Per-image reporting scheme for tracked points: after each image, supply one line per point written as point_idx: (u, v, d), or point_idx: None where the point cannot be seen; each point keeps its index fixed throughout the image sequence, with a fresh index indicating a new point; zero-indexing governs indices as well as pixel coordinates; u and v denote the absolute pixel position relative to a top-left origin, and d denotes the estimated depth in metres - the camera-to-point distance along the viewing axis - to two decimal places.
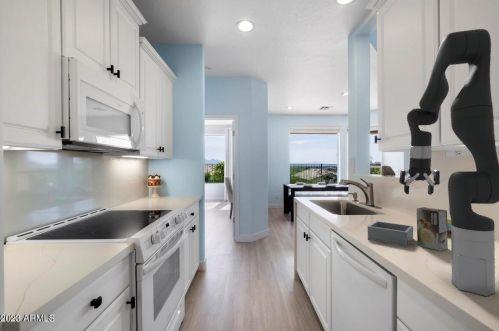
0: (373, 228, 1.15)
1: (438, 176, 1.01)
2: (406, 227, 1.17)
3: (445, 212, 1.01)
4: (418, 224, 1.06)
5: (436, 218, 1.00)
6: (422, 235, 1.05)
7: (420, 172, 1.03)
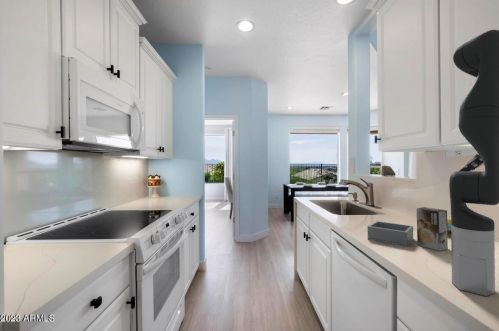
0: (373, 228, 1.15)
1: (475, 158, 0.87)
2: (406, 227, 1.17)
3: (445, 212, 1.01)
4: (418, 224, 1.06)
5: (436, 218, 1.00)
6: (422, 235, 1.05)
7: (479, 155, 0.91)
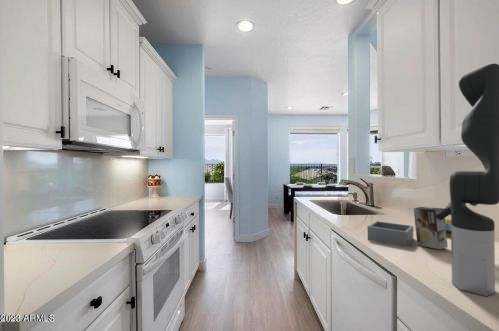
0: (373, 228, 1.15)
1: None
2: (406, 227, 1.17)
3: (442, 210, 1.02)
4: (416, 224, 1.07)
5: (433, 217, 1.01)
6: (421, 234, 1.05)
7: None
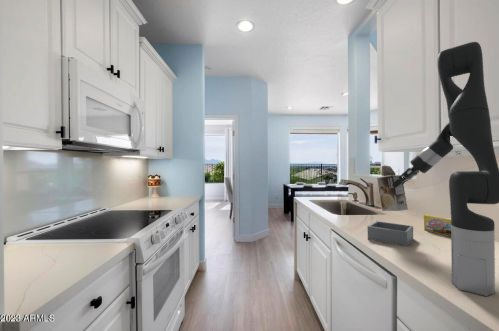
0: (373, 228, 1.15)
1: (404, 172, 1.06)
2: (406, 227, 1.17)
3: None
4: (380, 191, 1.19)
5: (392, 182, 1.13)
6: (384, 200, 1.16)
7: None
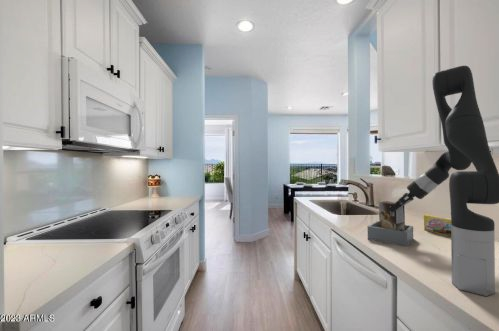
0: (373, 228, 1.15)
1: (401, 197, 1.07)
2: (406, 227, 1.17)
3: (402, 205, 1.13)
4: (380, 216, 1.18)
5: None
6: (383, 226, 1.17)
7: (408, 194, 1.11)
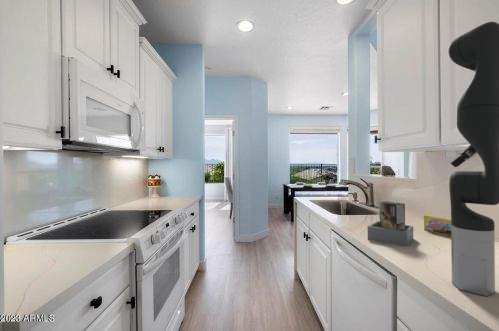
0: (373, 228, 1.15)
1: (470, 146, 0.87)
2: (406, 227, 1.17)
3: (403, 205, 1.13)
4: (380, 216, 1.18)
5: (394, 211, 1.11)
6: (383, 226, 1.16)
7: None
